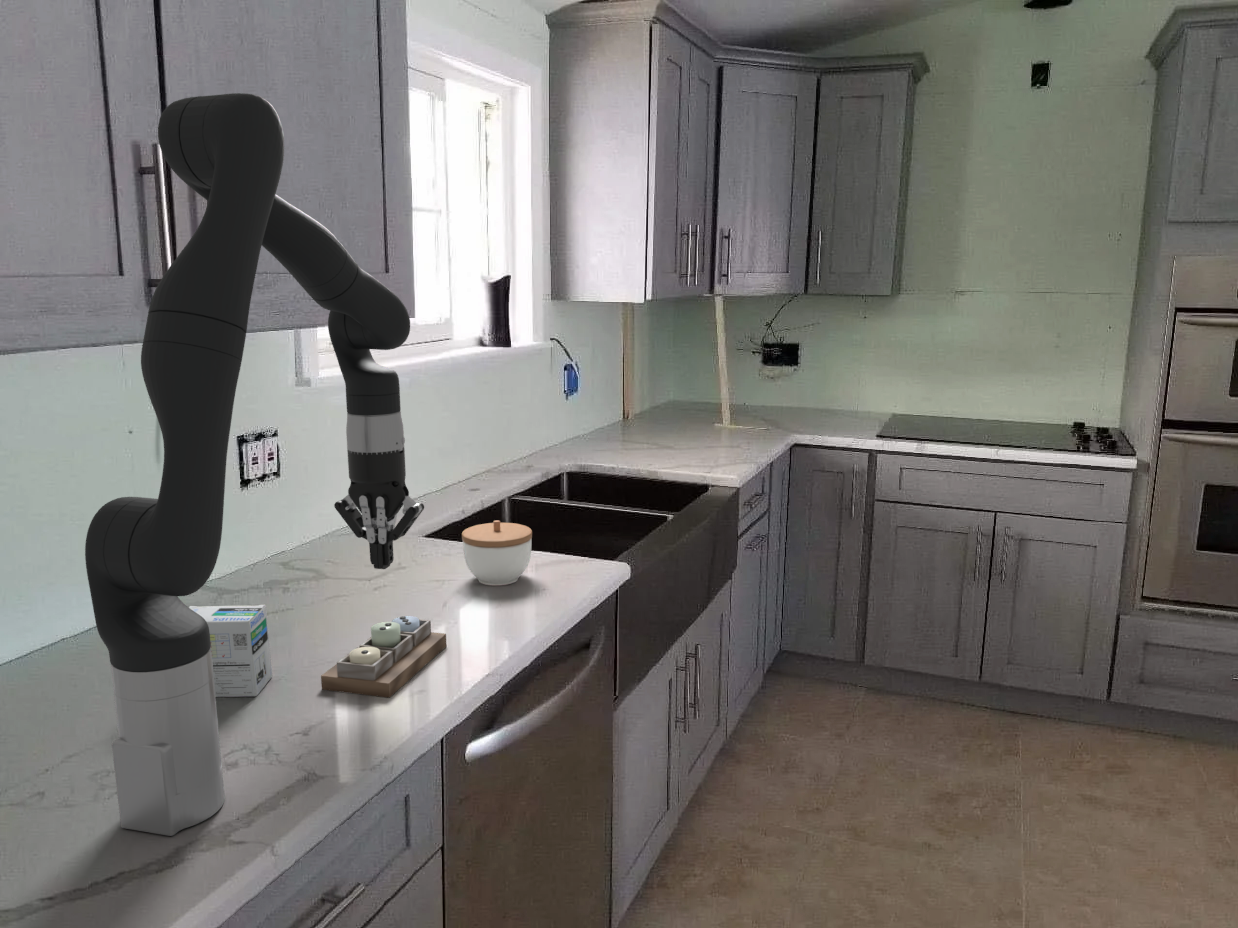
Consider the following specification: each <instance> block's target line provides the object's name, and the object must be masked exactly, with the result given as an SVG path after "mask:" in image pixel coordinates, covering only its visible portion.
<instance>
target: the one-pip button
mask: <svg viewBox="0 0 1238 928" xmlns="http://www.w3.org/2000/svg"><path fill="white" fill-rule="evenodd" d="M356 648H357V647H356ZM356 648H354V649H352V650H351V651H350V652H349V653H350V663H358V664H367V665H373V664H374V663H375V662H377V661H378V660H379V659H380V650H379V649H378V648H376V647H361V648H357V649H356Z"/></svg>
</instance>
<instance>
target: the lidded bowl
mask: <svg viewBox="0 0 1238 928" xmlns="http://www.w3.org/2000/svg"><path fill="white" fill-rule="evenodd" d="M532 538H533V530H532V529H531V528H530V527H529V526H527V525H524V524H520V523H515V522H514V523H513V522H501V520H495V519H494V520H493V522H488V523H482V524H481V523H479V524H475V525H473V526H469V527H468V528H465V529H464V530H463V531H462V533H461V540H462V550H463V556H464V557H463V558H464V560H465V564H466V567H467V569H468V570H469V571H470V573H471V574H472V575H473V577H475V578H476V579H477V580H478V582H479V583H480V584H481V585H485V586H491V587H492V586H493V587H494V586H500V587H501V586H507V585H511V584H514V583H516V582H517V581H518V580H519V577H521V575H523V574H524V573H525V571H526V570H527V567H528V566H529V563H530V559H531V554H532Z"/></svg>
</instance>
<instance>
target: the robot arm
mask: <svg viewBox="0 0 1238 928" xmlns="http://www.w3.org/2000/svg"><path fill="white" fill-rule="evenodd" d="M157 138H158V143H159V147H160V151H161V153H162V157H164V160H165V161H166V163H167V164H168V166H169V167H170V169H171V170H172V171H173V173H175V174H176V176H177V177H178V178H179V179H180V180H182V181H183V182H184V184H185V185H187V186H188V187H190V188H191V189H192V190H193V191H195V193H197V194H198V195H200V197H202V198H203V199H204V200H205V201H207V205H206V208H205V211H204V214H203V216H202V219H201V220H200V222H199V225H198V227H197V229H196V230H195V232H194V233H193V235H192V236H191V237H190V239H189V241H188V242H187V244H186V245H185V246H184V248H183V249H182V250H181V251H180V253H179V254H178V255H177V256H176V257H175V260H174V261H173V262H171V265H170V266H169V267H168V269H167V270H166V272H165V273H164V274H163V276H162V278H161V279H160V281H159V283H158V284H157V286H156V288H155V290H154V292H153V294H152V297H151V300H150V304H149V308H148V312H147V318H146V323H145V327H144V328H145V329H144V335H143V340H142V345H141V352H140V353H141V354H140V367H141V373H142V377H143V381H144V385H145V388H146V391H147V395H148V397H149V400H150V402H151V405H152V408H153V411H154V413H155V415H156V418H157V421H158V425H159V428H160V431H161V435H162V441H163V442H162V443H163V466H162V474H161V482H160V489H159V491H158V492H159V493H158V497H157V498H151V497H141V496H121V497H118V498H114V499H112V500H110V501H108V502H106V503H104V505H102V506H101V507H100V508H99V509H98V511H96V513H95V514H94V516H93V517H92V519H91V521H90V524H89V525H88V528H87V532H86V536H85V538H86V539H85V542H84V543H85V545H84V546H85V547H84V551H85V552H84V559H85V568H86V576H87V581H88V586H89V592H90V597H91V604H92V610H93V613H94V614H93V615H94V620H95V625H96V629H97V632H98V635H99V637H100V639H101V641H102V642H103V644H104V645H105V646H106V649H107V651H108V655H109V662H110V671H111V678H112V688H113V697H114V706H115V707H114V708H115V716H116V723H117V724H116V725H117V732H118V737H117V738H115V739H114V740H113V741H112V742H111V750H112V751H111V753H112V758H113V759H112V760H113V768H114V777H115V787H116V794H117V795H116V796H117V803H118V804H117V805H118V810H119V819H120V827H121V828H122V829H126V830H133V831H139V832H143V833H144V832H145V833H151V834H157V835H162V836H169V837H170V836H171V837H173V836H174V835H176V834H177V833H178V832H180V831H181V830H184V829H186V828H189V827H193V826H196V825H198V824H200V823H203V822H204V821H206V820H207V819H209V818H211V817H212V816H214V815H215V814H216V813H217V812H218V811H220V809H221V808H222V806H223V804H224V803H225V799H226V798H225V787H224V786H225V785H224V774H223V765H222V753H221V743H220V734H219V733H220V732H219V720H218V710H217V700H216V698H217V697H215V686H214V675H213V663H212V652H211V641H210V631H209V627H208V624H207V622H206V621H205V619H204V618H203V617H202V616H200V615H199V614H197V613H196V612H194V611H193V610H191V609H190V608H189V607H188V606H187V605H186V603H184V602H183V601H182V600H181V599H180V598H179V597H185V596H190V595H192V594H194V593H196V592H197V591H199V590H200V589H201V588H203V587H204V585H205V584H206V583H207V581H208V580H209V579H210V577H211V576H212V573H213V571H214V570H215V566H216V564H217V561H218V558H219V555H220V554H219V553H220V548H221V543H222V542H221V541H222V533H223V521H224V505H225V501H224V500H225V489H226V487H225V486H226V475H227V474H226V472H227V458H228V449H229V441H230V432H231V426H232V420H233V419H232V418H233V412H234V411H233V410H234V404H235V397H236V392H237V391H236V390H237V385H238V381H239V376H240V371H241V366H242V362H243V356H244V349H245V343H246V338H247V332H248V331H247V330H248V323H249V314H250V306H251V300H252V295H253V290H254V285H255V279H256V274H257V269H258V265H259V259H260V253H261V251H262V247H263V248H264V249H265V250H266V251H268V252H269V254H270V255H271V256H273V257H274V258H275V260H277V261H278V262H279V263H280V264H281V265H282V266H283V268H284V269H286V271H288V273H290V275H291V276H292V277H293V278H294V280H295V281H296V283H298V284H299V285H300V286H301V288H302V289H303V290H304V291H305V292H306V294H308V295H309V296H310V298H311V299H312V300H313V301H314V302H315V303H316V304H317V305H319V307H322V309H325V310H327V311H329V313H328V319H327V328H328V334H329V337H330V338H329V339H330V341H331V345H332V348H333V351H334V354H335V356H336V360H337V362H338V366H339V369H340V372H341V373H342V377H343V380H344V381H343V382H344V383H345V384H344V385H345V402H346V417H347V418H346V428H345V429H346V431H345V433H346V449H347V450H346V451H347V466H348V478H349V480H350V485H349V487H348V489H347V495H346V496H345V497H343V499H340V500H338V501H335V503H334V504H333V507H334V508H335V510H336V512H337V513H338V514H339V515H340V516H341V518H342V519H343V520H344V522H345V523H346V524H347V526H348V527H349V528H350V530H351V531H352V533H353V534H354V536H355V537H357V538H359V539H360V538H362V539H364V540H367V542H368V544H369V560H370V564H371V565H373V568H374V569H376V570H386V569H388V568H390V567H391V564H392V563H394V543H393V542H394V541H397V540H399V539H400V538H403V537H404V536H405V535H407V533H408V532H409V530H410V529H411V527H412V526H413V524H414V523H415V522H416V520H417V519H418V518H419V517H420V515H421V514H422V513H423V511H424V509H425V505H424V504H423V503H422V502H416V501H415V500H414V499H413V498H412V497H410V496H409V495H410V492H409V488H408V487H407V485H406V477H407V476H406V472H407V471H406V454H405V451H406V450H405V441H406V439H405V436H404V435H405V434H404V433H405V432H404V424H403V418H402V411H401V391H400V389H401V388H400V378H399V375H398V373H397V371H395V370H394V369H392V368H389V367H386V366H383V365H381V364H378V363H377V362H376V360H374V357H373V355H372V353H371V351H370V350H377V351H389V350H395V349H397V348H399V347H401V346H403V344H404V343H405V342H406V341H407V340H408V338H409V335H410V331H411V320H410V319H411V318H410V314H409V313H408V309H407V307H406V306H405V304H404V302H402V299H401V298H399V296H398V295H397V294H396V293H394V291H392V290H391V289H390V288H388V287H387V286H386V285H385V284H383V283H382V282H380V280H378V279H377V278H375V277H374V276H373V275H371V274H369V273H368V272H367V271H365V270H364V269H362V268H361V267H360V266H359V264H358V263H357V262H356V261H355V259H354V258H353V257H352V255H351V254H350V253H349V251H348V250H347V249H346V248H345V246H344V245H343V244H342V242H340V240H339V239H338V238H337V237H336V236H335V234H333V233H332V232H331V231H330V230H329V229H328V228H326V226H324V225H323V224H321V223H320V222H319V221H317V220H316V219H314V218H313V217H311V216H310V215H308V214H307V213H305V212H303V211H302V210H301V209H299V208H297V207H295V206H294V205H293V204H291V203H290V202H288V201H286V200H285V199H283V198H282V197H280V196H279V195H277V194H276V193H277V190H278V186H279V182H280V180H281V175H282V170H283V166H284V160H285V159H284V157H285V135H284V129H283V125H282V121H281V119H280V117H279V114H278V112H277V111H276V109H275V108H274V106H273V105H272V104H271V102H270V101H268V100H267V99H265V98H263V97H262V96H260V95H257V94H253V93H242V92H241V93H238V92H237V93H234V92H232V93H224V94H223V93H222V94H213V95H199V96H191V97H190V96H189V97H184V98H181V99H178V100H176V101H173V102H172V103H170V104H168V105H167V107H165V108H164V110H163V111H162V113H161V115H160V117H159V122H158V126H157ZM402 507H403V508H402ZM401 509H402V514H403V515H402V517H401V519H400V520H399V521H398V522H397V520H398V519H397V515H398V513H399V511H400V510H401ZM396 523H397V524H396ZM395 524H396V525H395Z"/></svg>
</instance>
